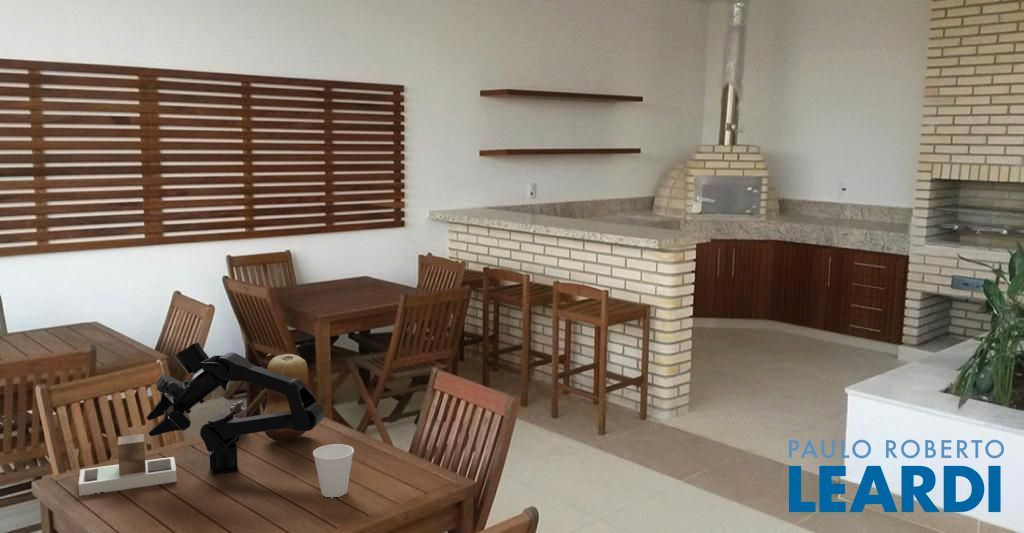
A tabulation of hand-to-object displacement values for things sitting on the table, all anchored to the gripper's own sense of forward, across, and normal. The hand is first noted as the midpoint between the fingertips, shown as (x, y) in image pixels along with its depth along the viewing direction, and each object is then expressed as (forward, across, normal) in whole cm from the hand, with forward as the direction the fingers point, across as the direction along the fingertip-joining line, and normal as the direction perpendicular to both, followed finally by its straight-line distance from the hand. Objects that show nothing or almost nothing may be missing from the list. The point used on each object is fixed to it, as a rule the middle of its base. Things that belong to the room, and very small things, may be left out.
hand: (148, 426), depth 211 cm
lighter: (-10, -18, +27) cm, 34 cm away
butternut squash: (-21, -9, +34) cm, 41 cm away
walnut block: (+9, +3, +5) cm, 11 cm away
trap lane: (+12, +4, +7) cm, 14 cm away
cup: (-27, +32, +31) cm, 52 cm away
